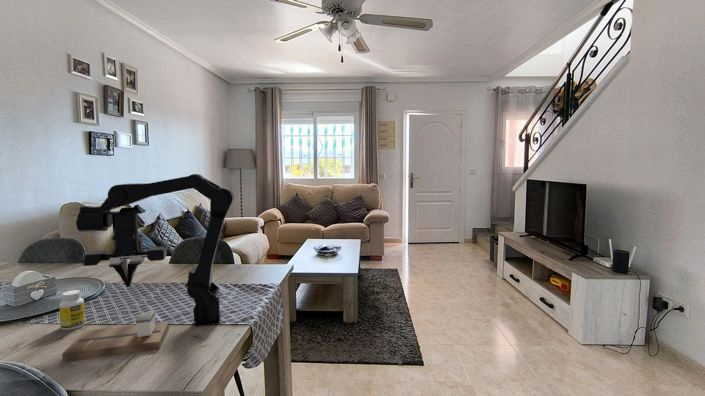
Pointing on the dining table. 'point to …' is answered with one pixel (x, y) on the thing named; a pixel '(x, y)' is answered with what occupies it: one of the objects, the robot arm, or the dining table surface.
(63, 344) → the dining table surface
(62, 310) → the supplement bottle
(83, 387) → the dining table surface
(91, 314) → the dining table surface
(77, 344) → the fader console
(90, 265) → the robot arm
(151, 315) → the fader tab
